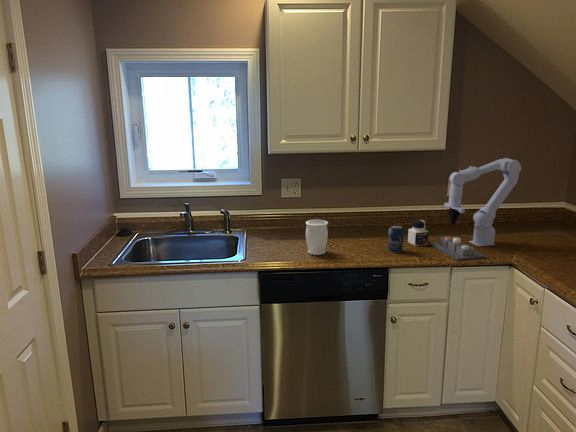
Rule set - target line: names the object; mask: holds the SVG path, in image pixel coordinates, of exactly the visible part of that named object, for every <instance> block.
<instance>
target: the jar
mask: <svg viewBox="0 0 576 432" xmlns="http://www.w3.org/2000/svg"><path fill="white" fill-rule="evenodd" d="M328 222H329V221H327V220H324V219H309V220H306V222H305V225H306V228H305V240H306V241H305V242H306V246H307V247H308V250H307V253H308V254H309V253H310V254H311V255H312V254H313V255H314V256H321V255H324V254H325V253H326V250H325V249H326V247H327V241H328V235H329V234H328V233H329V232H328V224H329V223H328ZM310 254H309V255H310Z"/></svg>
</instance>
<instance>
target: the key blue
mask: <svg viewBox="0 0 576 432" xmlns="http://www.w3.org/2000/svg"><path fill="white" fill-rule="evenodd" d="M467 245H468V244H465V245H462V246H461V248H462V249H469V248H470V247H471V246H470V245H468V246H467Z"/></svg>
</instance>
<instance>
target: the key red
mask: <svg viewBox="0 0 576 432" xmlns="http://www.w3.org/2000/svg"><path fill="white" fill-rule="evenodd" d="M444 237H445V240H452V238H453V237H452V236H444Z"/></svg>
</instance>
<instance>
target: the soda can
mask: <svg viewBox="0 0 576 432" xmlns="http://www.w3.org/2000/svg"><path fill="white" fill-rule="evenodd" d="M387 236H388V237H387V250H388V251H389V252H390V253H393V254H398V253H401V252H402V251H403V246H404V228H403V226H401V225H395V224H394V225H390V226H389V228H388V234H387Z"/></svg>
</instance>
